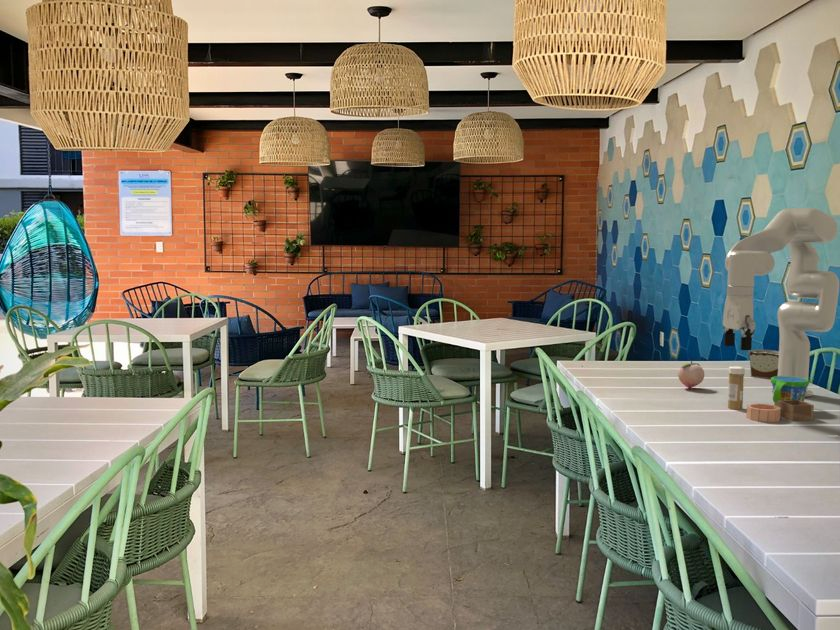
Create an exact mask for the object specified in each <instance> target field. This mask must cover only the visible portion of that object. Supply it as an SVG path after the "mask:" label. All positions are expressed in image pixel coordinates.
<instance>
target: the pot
mask: <svg viewBox="0 0 840 630" xmlns="http://www.w3.org/2000/svg"><path fill="white" fill-rule="evenodd" d="M745 416H746V419H748V420H750V421H756V422H760V423H762V422H763V423H777V422H780V421H781V417H780V407H778V406H775V405H774V404H768V403H748V404H746V415H745Z"/></svg>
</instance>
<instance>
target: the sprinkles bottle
mask: <svg viewBox="0 0 840 630" xmlns="http://www.w3.org/2000/svg"><path fill="white" fill-rule="evenodd" d="M745 370H746V368H745V367H742V366H737V365H736V366H729V367H728V386H727V387H728V388H727V409H728V410H733V411H742V410H744V409H743V405H744V404H743V403H744V376H745V372H746V371H745Z"/></svg>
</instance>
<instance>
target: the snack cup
mask: <svg viewBox="0 0 840 630" xmlns="http://www.w3.org/2000/svg"><path fill="white" fill-rule="evenodd" d="M770 383H771V384H772V385H771V386H772V389H773V392H772V394H773V395H772V401H773V403H774V404H773V405H775V406H777V403H778V401H781V400H801V401H804V402H805V398H806V397H805V393H806V388H807V386H808V387H809V385H810V381H809V379H808V380H807V379H804V378H799V377H790V376H775V377H772V378H771V379H770Z"/></svg>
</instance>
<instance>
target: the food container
mask: <svg viewBox="0 0 840 630" xmlns="http://www.w3.org/2000/svg"><path fill="white" fill-rule="evenodd" d="M747 356H749V366H750V367H749V368H750V377H752V378H759V377H761V379H770V378H772V377H775V376H778V362H779V350H778V351H777V350H771V349H751V350H749V352H748V354H747Z"/></svg>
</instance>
